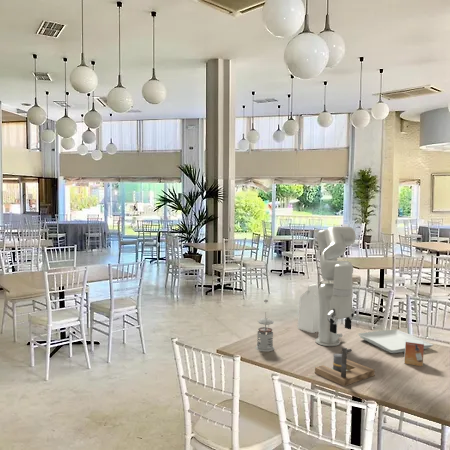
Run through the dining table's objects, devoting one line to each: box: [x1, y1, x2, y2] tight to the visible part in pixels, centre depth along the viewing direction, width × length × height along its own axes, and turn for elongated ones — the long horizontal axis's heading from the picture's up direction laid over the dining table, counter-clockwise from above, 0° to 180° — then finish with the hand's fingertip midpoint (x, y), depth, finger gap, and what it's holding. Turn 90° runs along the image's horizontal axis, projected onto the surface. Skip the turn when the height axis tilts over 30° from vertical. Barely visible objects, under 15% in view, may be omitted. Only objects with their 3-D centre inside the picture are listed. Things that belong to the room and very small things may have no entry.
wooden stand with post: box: [314, 347, 376, 387], centre depth 194 cm, size 20×16×14 cm
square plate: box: [357, 329, 434, 354], centre depth 235 cm, size 27×27×4 cm
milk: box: [296, 283, 319, 334], centre depth 259 cm, size 12×12×26 cm
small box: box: [403, 339, 425, 367], centre depth 208 cm, size 8×6×10 cm
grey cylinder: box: [332, 353, 342, 373], centre depth 196 cm, size 5×5×7 cm
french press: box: [255, 299, 275, 352], centre depth 226 cm, size 10×12×25 cm
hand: (340, 330), depth 196 cm, fingers open, 9 cm apart
